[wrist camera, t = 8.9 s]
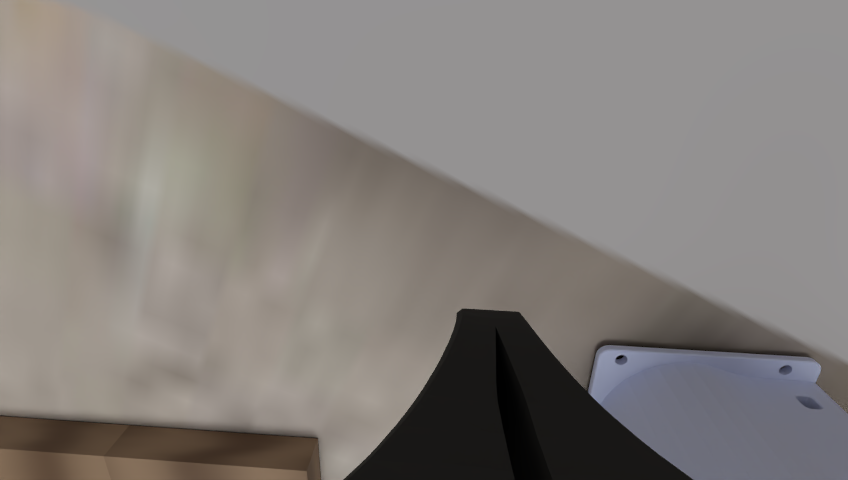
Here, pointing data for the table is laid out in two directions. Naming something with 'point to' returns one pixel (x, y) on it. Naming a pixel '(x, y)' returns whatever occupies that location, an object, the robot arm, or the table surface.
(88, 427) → the cut-out shelf board
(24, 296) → the table surface
